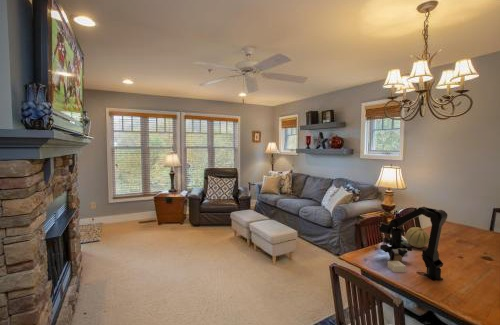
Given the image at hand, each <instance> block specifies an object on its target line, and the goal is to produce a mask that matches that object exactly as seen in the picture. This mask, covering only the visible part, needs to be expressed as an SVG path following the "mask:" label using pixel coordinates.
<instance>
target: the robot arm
mask: <svg viewBox="0 0 500 325" xmlns="http://www.w3.org/2000/svg"><path fill="white" fill-rule="evenodd" d="M421 215H423V216H424V217H426V218H429V219H430V220H429V221H430V223H431V227H430V228H431V229H430V231H429V232H430V234H429V242H428V244H427V248H424V249H422V254H421V258H422V261H423V262H424V265H425V268H426V273H424V276H426V277H427V278H428V279H430V280H432V281H443V280H444V278H443V277H442V276H441V275H442V269H441V268H442V267H444V263H443V261H442V260H441V259H440V256H439V255H440V254H439V251H438V248H439V243H440V238H441V232H442V229H443V228H442V227H443V225H444V224H445V222H446V220H448V213H447V212H446V211H445V210H443V209H436V208H430V207H426V206H421V207H418V208H417V209H414V210H413V211H411V212H409V213H407V214H405V215H401V216H400V217H395V218H392V219H391V220H390V222H389V224H388V223H385V222H381V225H380V226H379V228H378V230H379V233H381V234H384V235H388V236H390V235H391V236H390V237H389V238H388V237H383V238H382V241H383V243H384V244H380V245H379V246H380V248H379V249H380V250H381V251H383V252H384V253H388V255H389V260H390V259H391V261H393V258H394V253H395V251H394V250H393V249H398V251H399V254H400V255H401V256H402V258H404V256H406V255H405V254H406V253H407V254H408V252H412V251H413V246H412V245H410V244H409V243H408V244H402V242H403V240H402V236H403V233H407V231H406V230H405V229H404V228H403V226H405V225H406V224H407V223H408V222H409V221H411V220H414V219H416V218H418V217H420V216H421ZM406 249H407V251H406Z"/></svg>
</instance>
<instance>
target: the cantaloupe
mask: <svg viewBox="0 0 500 325" xmlns="http://www.w3.org/2000/svg"><path fill="white" fill-rule="evenodd" d="M429 238H430V235H429V233H428V232H427V231H426V230H424V229H423V228H422V227H417V226H414V227H410V228H409V229H408V230H407V231H406V232H405V239H407V240H408V245H410V246H411V247H414V248H419V249H421V248H424V247H426V246H428V243H429Z"/></svg>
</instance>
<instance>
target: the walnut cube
mask: <svg viewBox="0 0 500 325" xmlns="http://www.w3.org/2000/svg"><path fill="white" fill-rule="evenodd" d="M389 261H391V259H390V258H389ZM393 261H400V262H401V263H402V264H403V257H402V256H401V255H400V254H398V253H394V258H393Z"/></svg>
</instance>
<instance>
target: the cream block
mask: <svg viewBox="0 0 500 325" xmlns="http://www.w3.org/2000/svg"><path fill="white" fill-rule="evenodd" d="M387 268H388V269H389V270H390V271H392V272H393V273H406V272H407V271H406V269H407V266H406V265H405V264H404V263H403V262H402V263H401V262H400V261H390V260H388V261H387Z"/></svg>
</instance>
